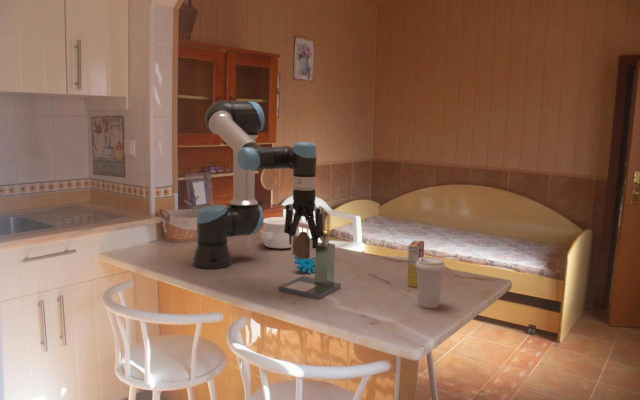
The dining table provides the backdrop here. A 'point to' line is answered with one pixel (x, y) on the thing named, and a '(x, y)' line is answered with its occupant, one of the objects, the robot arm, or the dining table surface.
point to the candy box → (414, 261)
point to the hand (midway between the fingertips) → (303, 255)
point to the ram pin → (325, 237)
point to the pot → (276, 233)
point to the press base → (316, 276)
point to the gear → (305, 264)
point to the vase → (302, 246)
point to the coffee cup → (429, 281)
